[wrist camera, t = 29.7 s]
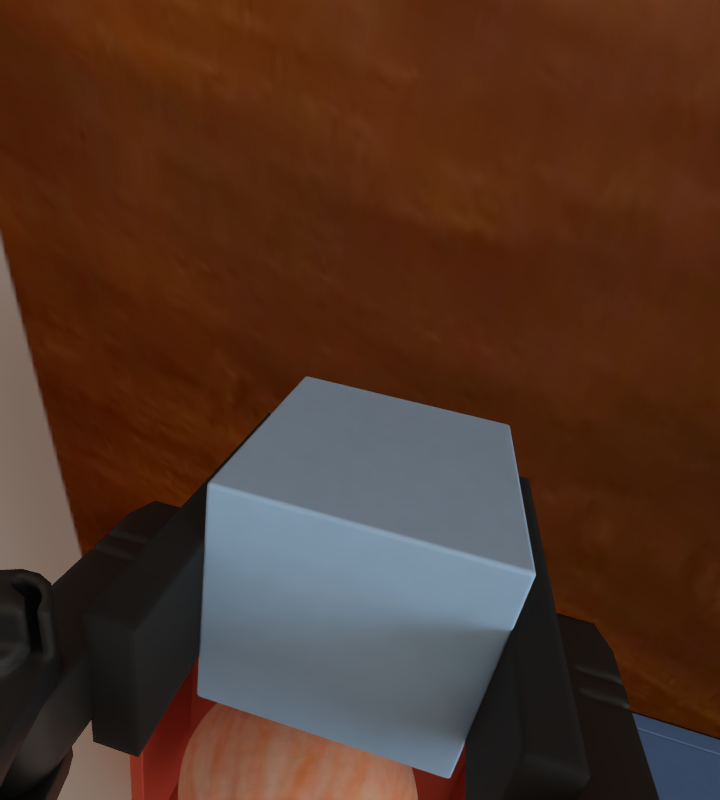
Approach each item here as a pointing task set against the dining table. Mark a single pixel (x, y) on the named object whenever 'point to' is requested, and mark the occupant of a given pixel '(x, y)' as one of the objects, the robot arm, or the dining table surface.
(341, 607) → the blue block
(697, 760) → the blue bin
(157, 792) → the red bin
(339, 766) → the tomato
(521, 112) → the dining table surface
